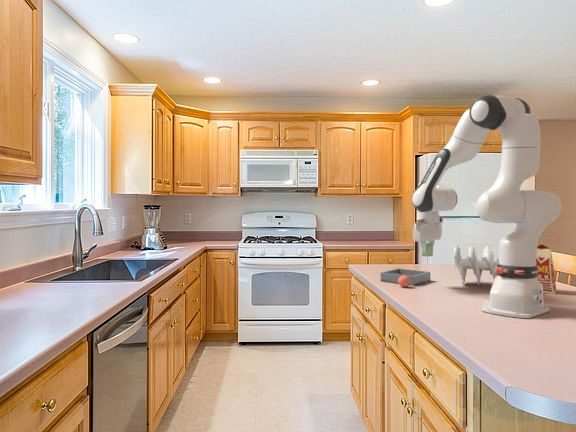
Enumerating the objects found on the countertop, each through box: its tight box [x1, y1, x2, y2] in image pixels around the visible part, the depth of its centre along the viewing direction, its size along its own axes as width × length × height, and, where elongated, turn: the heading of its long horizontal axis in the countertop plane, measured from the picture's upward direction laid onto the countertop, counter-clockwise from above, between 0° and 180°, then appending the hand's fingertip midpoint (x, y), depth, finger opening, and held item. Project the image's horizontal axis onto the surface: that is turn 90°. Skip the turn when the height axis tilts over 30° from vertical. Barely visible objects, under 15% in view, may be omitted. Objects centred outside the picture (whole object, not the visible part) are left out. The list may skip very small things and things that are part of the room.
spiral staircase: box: [453, 243, 499, 287], centre depth 176 cm, size 18×18×25 cm
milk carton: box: [536, 240, 557, 295], centre depth 165 cm, size 9×9×20 cm
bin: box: [380, 267, 431, 287], centre depth 187 cm, size 16×16×4 cm
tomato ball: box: [398, 276, 410, 288], centre depth 173 cm, size 5×5×5 cm
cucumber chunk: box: [421, 242, 434, 257], centre depth 175 cm, size 4×4×5 cm
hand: (427, 251), depth 175 cm, fingers closed on cucumber chunk, 4 cm apart
